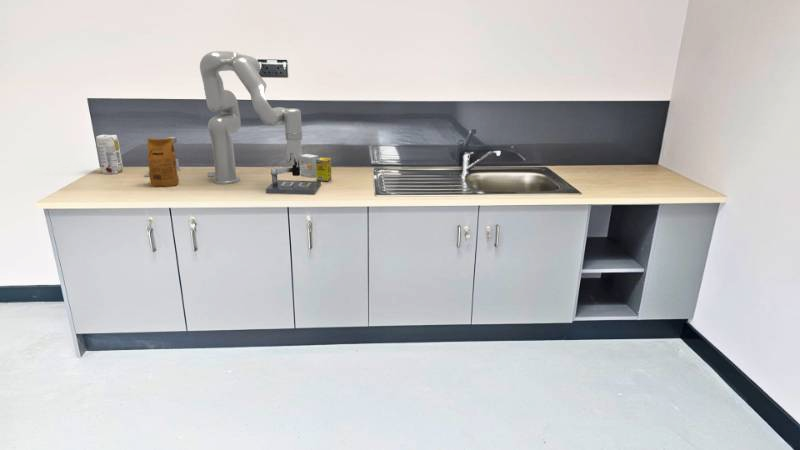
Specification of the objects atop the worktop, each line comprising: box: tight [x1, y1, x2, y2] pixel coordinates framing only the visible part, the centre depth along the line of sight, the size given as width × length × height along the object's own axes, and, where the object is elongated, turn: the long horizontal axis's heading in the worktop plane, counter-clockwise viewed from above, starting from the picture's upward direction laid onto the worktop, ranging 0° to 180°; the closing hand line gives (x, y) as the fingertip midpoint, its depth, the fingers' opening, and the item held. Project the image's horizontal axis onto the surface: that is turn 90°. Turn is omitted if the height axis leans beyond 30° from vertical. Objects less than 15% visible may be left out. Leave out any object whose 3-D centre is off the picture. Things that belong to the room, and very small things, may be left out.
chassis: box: [265, 175, 322, 196], centre depth 232 cm, size 22×16×6 cm
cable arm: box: [270, 164, 312, 176], centre depth 235 cm, size 20×3×2 cm, turn 129°
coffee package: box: [147, 137, 180, 188], centre depth 232 cm, size 10×12×22 cm
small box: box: [299, 153, 319, 179], centre depth 255 cm, size 8×6×10 cm
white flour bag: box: [95, 134, 124, 175], centre depth 251 cm, size 8×9×19 cm
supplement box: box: [316, 157, 332, 183], centre depth 247 cm, size 6×6×11 cm
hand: (296, 175), depth 234 cm, fingers closed
